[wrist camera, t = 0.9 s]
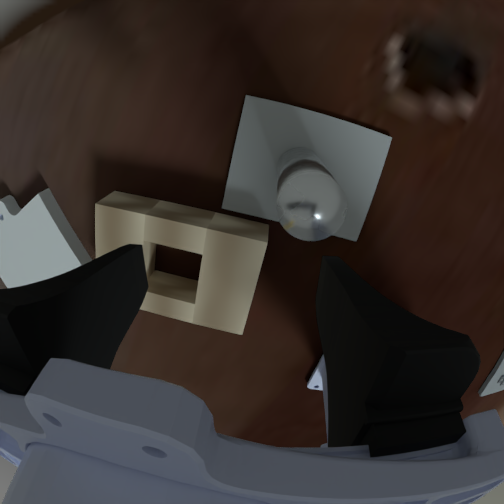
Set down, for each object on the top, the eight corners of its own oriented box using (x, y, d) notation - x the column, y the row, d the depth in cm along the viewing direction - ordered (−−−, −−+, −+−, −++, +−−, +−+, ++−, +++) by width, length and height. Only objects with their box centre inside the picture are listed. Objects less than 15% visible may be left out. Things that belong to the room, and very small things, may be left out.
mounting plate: (-16, 224, 25) (-26, 231, 23) (39, 163, 21) (25, 168, 20) (68, 347, 32) (61, 357, 30) (141, 323, 28) (134, 336, 27)
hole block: (269, 224, 22) (267, 242, 20) (245, 311, 26) (242, 334, 23) (114, 190, 22) (95, 203, 19) (113, 277, 26) (98, 296, 23)
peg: (327, 153, 19) (356, 185, 12) (315, 195, 21) (334, 247, 14) (283, 141, 19) (286, 165, 12) (272, 184, 21) (269, 232, 13)
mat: (390, 136, 18) (392, 137, 18) (355, 239, 22) (356, 241, 22) (246, 95, 18) (246, 95, 18) (222, 207, 22) (221, 208, 22)
